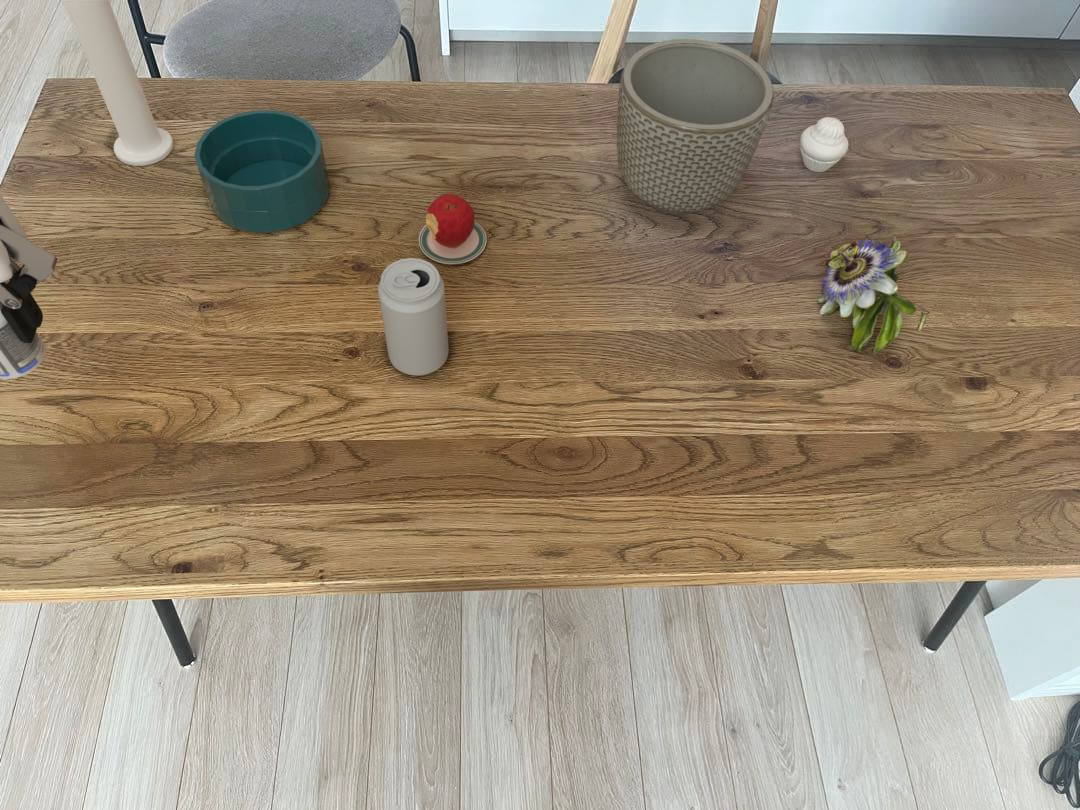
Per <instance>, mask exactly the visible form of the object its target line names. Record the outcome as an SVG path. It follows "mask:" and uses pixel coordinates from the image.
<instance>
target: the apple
mask: <svg viewBox="0 0 1080 810" xmlns="http://www.w3.org/2000/svg"><path fill="white" fill-rule="evenodd" d="M475 216H476V215H475V211H474V208H473V207H472V206H471V204H470V203H469V202H468V201H467V200H466V199H464V198H463V197H461V196H459V195H457V194H453V193H447V194H442V195H440V196H438V197H437V198H435V199H434V200H433V201H432V203H430V204H429V207H428V208H427V211H426V215H425V223H426V224H425V225H424V226H423V227H422V229H421V230H420V232H419V234H418V245H419V248H420V251H421V252H422V253H423V254H424V255H425V256H426V257H427V258H428V259H431V260H432V261H434V262H436V263H440V264H444V265H460V264H465V263H467V262H468V263H469V262H470V261H472V260H474V259H476V258H477V257H479V256H480V255H482V253H483V252H484V250H485V248H486V246H487V234H486V231H485V230H484V228H483V227H482V226H481V225H480V223H478V222H477V221H476V217H475Z"/></svg>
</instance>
